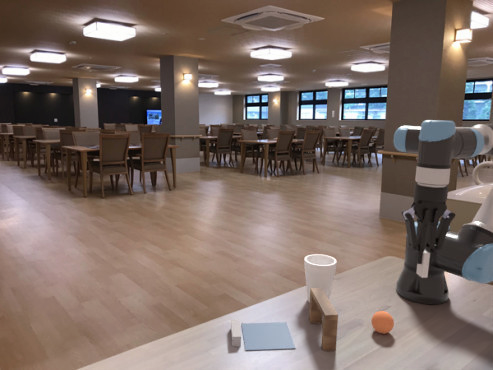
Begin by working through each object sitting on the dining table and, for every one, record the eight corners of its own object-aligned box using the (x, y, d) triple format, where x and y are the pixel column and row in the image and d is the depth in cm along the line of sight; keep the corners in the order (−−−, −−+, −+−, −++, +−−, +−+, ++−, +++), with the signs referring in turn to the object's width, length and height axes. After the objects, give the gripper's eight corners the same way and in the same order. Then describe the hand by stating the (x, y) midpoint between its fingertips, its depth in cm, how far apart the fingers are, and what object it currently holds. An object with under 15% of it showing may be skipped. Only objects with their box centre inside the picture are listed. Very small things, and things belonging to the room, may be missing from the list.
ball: (387, 326, 108) (389, 306, 107) (396, 337, 102) (398, 317, 101) (367, 326, 107) (369, 307, 106) (375, 338, 102) (377, 318, 101)
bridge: (319, 319, 111) (321, 287, 109) (335, 350, 96) (338, 314, 95) (308, 319, 110) (310, 288, 109) (323, 350, 96) (325, 315, 94)
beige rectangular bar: (238, 328, 105) (238, 319, 105) (240, 346, 98) (240, 336, 97) (230, 328, 105) (230, 319, 105) (232, 346, 97) (232, 336, 97)
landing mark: (286, 322, 108) (286, 322, 108) (295, 348, 97) (295, 348, 97) (241, 324, 107) (241, 323, 107) (245, 350, 96) (245, 349, 96)
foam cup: (334, 310, 116) (336, 267, 113) (301, 306, 118) (303, 264, 115) (333, 295, 125) (336, 255, 123) (303, 292, 127) (305, 253, 124)
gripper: (448, 181, 103) (438, 269, 107) (398, 181, 102) (390, 270, 106) (466, 187, 95) (454, 281, 100) (413, 187, 94) (404, 282, 99)
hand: (421, 275), depth 103 cm, fingers closed
